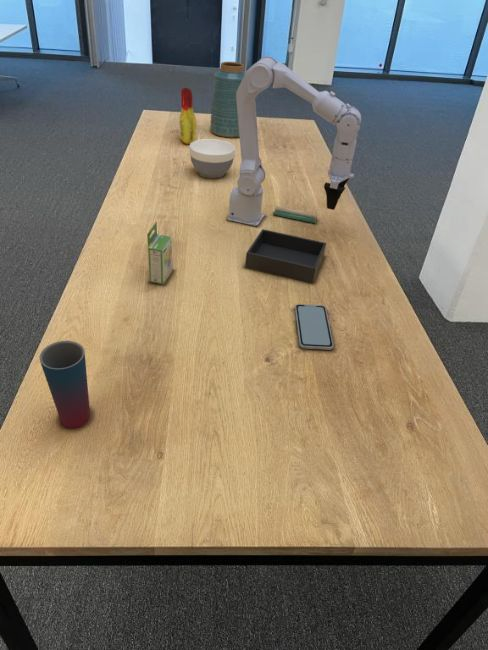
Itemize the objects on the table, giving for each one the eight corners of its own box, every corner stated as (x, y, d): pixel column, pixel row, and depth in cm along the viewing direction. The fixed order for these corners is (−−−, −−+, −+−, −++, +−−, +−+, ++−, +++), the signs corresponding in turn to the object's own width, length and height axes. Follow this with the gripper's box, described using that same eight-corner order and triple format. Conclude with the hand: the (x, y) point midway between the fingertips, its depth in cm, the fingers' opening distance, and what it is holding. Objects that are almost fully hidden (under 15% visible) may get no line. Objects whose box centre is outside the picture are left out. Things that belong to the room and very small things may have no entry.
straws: (273, 215, 157) (274, 207, 155) (275, 211, 159) (276, 204, 157) (314, 224, 154) (316, 216, 152) (316, 220, 156) (318, 212, 154)
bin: (245, 267, 132) (246, 252, 129) (260, 243, 142) (262, 228, 139) (312, 283, 128) (315, 268, 125) (323, 257, 138) (326, 242, 136)
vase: (233, 141, 208) (237, 70, 191) (202, 132, 214) (203, 63, 197) (254, 132, 219) (260, 64, 202) (224, 123, 225) (226, 57, 208)
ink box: (164, 285, 123) (162, 236, 114) (148, 282, 123) (146, 234, 115) (173, 270, 128) (172, 223, 120) (158, 268, 128) (156, 220, 120)
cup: (59, 403, 91) (44, 340, 82) (98, 402, 92) (87, 340, 82) (51, 433, 86) (34, 369, 76) (92, 432, 86) (80, 369, 77)
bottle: (178, 136, 208) (178, 84, 196) (194, 136, 209) (194, 84, 197) (180, 146, 199) (180, 92, 187) (196, 146, 200) (197, 92, 188)
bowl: (242, 177, 178) (244, 150, 172) (203, 185, 171) (204, 157, 165) (218, 162, 188) (219, 136, 182) (181, 169, 181) (181, 142, 175)
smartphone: (300, 346, 107) (294, 303, 118) (299, 349, 107) (294, 306, 119) (334, 347, 107) (325, 305, 119) (333, 350, 108) (325, 308, 119)
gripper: (352, 168, 129) (342, 216, 138) (361, 150, 140) (351, 196, 148) (326, 163, 131) (317, 211, 139) (336, 146, 141) (327, 191, 150)
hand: (333, 203), depth 144 cm, fingers open, 7 cm apart
